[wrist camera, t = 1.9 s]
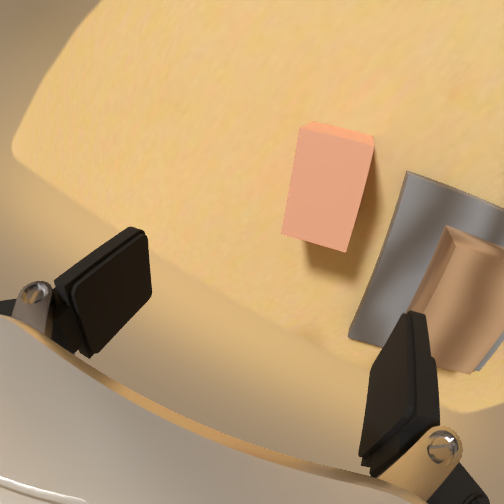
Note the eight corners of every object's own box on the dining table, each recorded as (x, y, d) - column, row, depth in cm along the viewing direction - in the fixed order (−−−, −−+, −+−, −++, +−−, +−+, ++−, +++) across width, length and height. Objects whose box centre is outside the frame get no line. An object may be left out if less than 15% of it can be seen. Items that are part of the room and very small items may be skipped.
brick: (372, 135, 22) (374, 146, 18) (351, 221, 27) (345, 252, 22) (314, 121, 24) (299, 127, 19) (298, 206, 28) (281, 233, 23)
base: (554, 234, 18) (578, 262, 14) (477, 362, 28) (483, 396, 23) (406, 170, 23) (415, 189, 18) (349, 328, 32) (342, 364, 28)
